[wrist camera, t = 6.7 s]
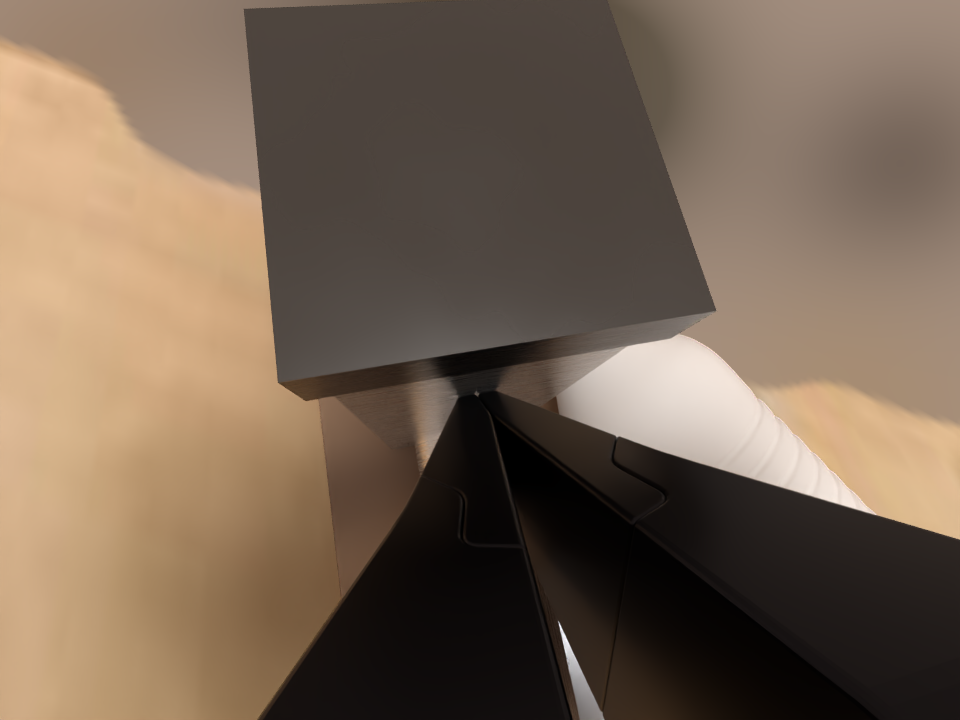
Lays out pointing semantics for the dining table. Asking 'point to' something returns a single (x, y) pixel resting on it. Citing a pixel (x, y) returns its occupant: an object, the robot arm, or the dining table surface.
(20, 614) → the dining table surface
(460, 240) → the grey metal upright slab
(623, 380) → the water bottle
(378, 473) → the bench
